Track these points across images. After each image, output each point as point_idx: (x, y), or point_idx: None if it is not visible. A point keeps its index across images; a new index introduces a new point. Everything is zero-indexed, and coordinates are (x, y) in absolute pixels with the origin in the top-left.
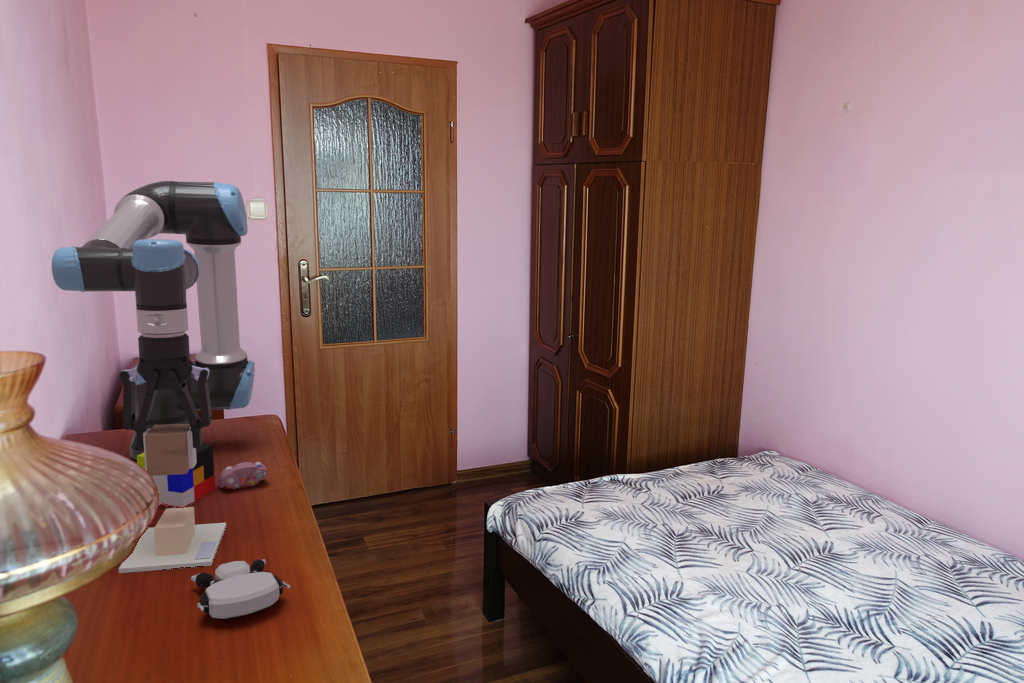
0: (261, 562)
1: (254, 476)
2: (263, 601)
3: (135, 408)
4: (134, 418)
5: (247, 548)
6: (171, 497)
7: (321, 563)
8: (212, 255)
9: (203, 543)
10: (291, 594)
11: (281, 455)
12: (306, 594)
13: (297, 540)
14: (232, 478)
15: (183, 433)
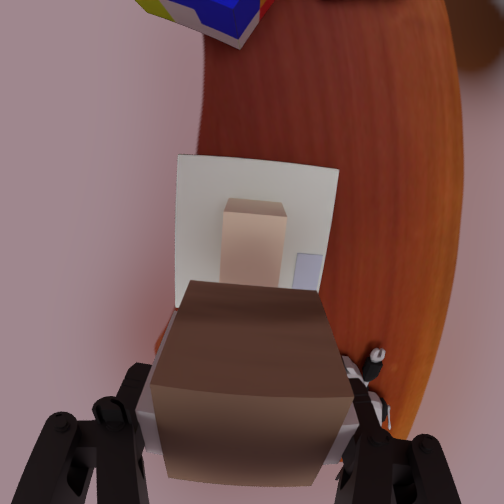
0: (379, 371)
1: None
2: None
3: (55, 486)
4: (73, 454)
5: (367, 270)
6: (211, 31)
7: (441, 332)
8: None
9: (300, 258)
10: (392, 387)
11: None
12: (405, 388)
13: (437, 261)
14: None
15: (308, 482)
